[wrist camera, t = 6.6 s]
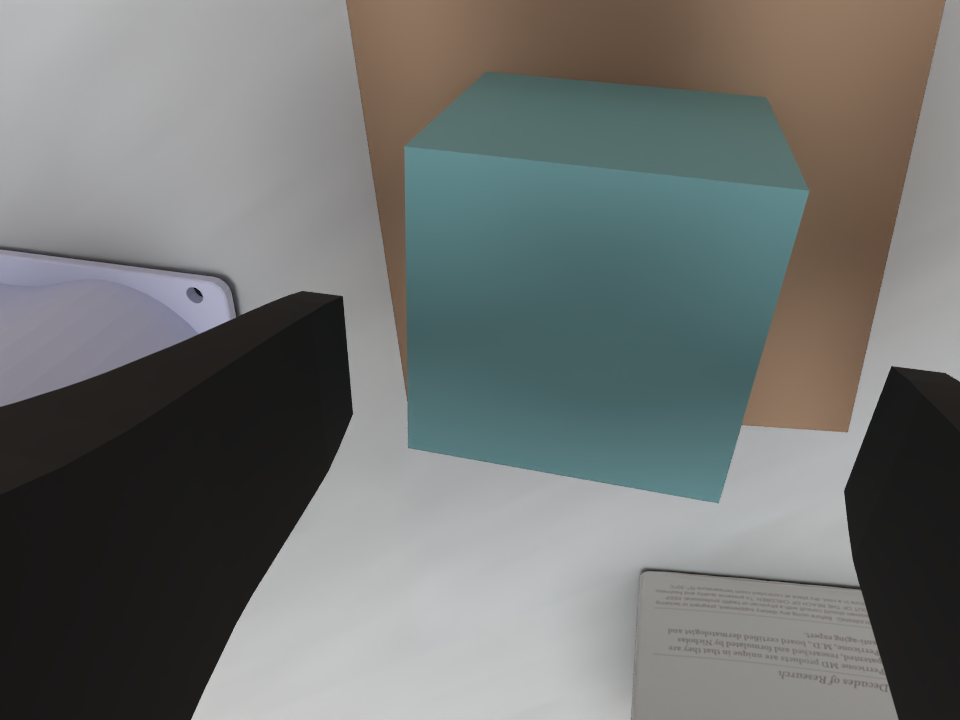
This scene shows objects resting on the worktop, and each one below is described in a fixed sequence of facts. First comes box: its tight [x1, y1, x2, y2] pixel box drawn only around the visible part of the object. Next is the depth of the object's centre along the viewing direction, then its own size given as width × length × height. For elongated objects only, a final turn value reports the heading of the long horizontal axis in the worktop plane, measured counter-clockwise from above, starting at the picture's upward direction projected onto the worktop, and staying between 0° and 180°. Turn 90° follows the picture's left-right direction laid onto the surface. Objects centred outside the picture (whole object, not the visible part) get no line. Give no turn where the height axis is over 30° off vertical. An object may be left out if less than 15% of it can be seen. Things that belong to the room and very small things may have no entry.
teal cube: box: [404, 72, 809, 503], centre depth 13 cm, size 5×5×5 cm
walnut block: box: [346, 0, 946, 432], centre depth 16 cm, size 10×10×4 cm
